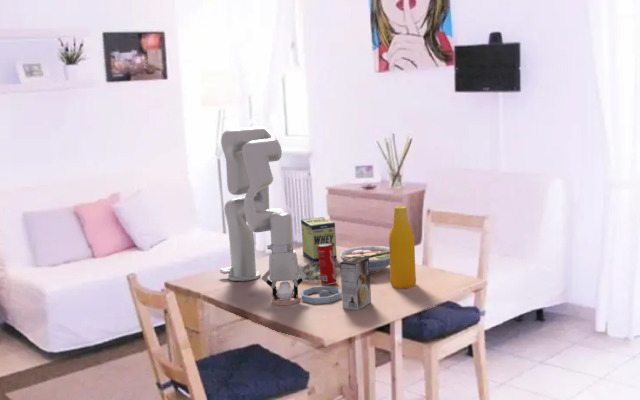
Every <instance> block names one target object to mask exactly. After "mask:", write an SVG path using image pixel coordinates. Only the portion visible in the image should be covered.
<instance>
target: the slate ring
mask: <svg viewBox="0 0 640 400" xmlns="http://www.w3.org/2000/svg"><path fill="white" fill-rule="evenodd" d="M322 290H327V291H328V292H329V293H332V294H331V295H329V297H319V296H318V297H313V296H309V295H310V294H313V293H320V292H321V291H322ZM300 297H301V301H302V302H305V303H309V304H313V305H314V304H330V303H333V302H335V301H338V300H340V299H341V300H342V290H341V288H340V287H336V286H335V287H334V286H333V285H332V286H330V285H321V286H318V285H317V286H316V285H315V286H311V287H310V286H309V287H307V288H305V289H302V290H300Z"/></svg>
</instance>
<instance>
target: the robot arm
mask: <svg viewBox="0 0 640 400" xmlns="http://www.w3.org/2000/svg"><path fill="white" fill-rule="evenodd" d="M220 144H221V149H222V152H223V154H224V158H225V163H226V165H225V167H226V183H227V184H226V185H227V191H228V192H229V194H231V195H232V196H241V195H242V196H243V195H245V196H243V197H242V196H241V197H236V198H231V199H229V200H227V201H226V203H225V204H224V214H225V218H226V225H227V229H228V239H229V253H230V254H229V255H230V264H231V265H230V266H228V267H226V268H225V267H222V268H221V267H220V270H219V271H220V272H219V273H220V274H223V275H227V274H228V278H227V279H228V280H230V281H233V282H246V281H247V282H249V281H253V280H254V281H255V280H256V279H259V278H260V277H261V272H260V271H258V270H257V267H256V265H257V264H256V252H255V251H256V249H255V240H254V239H255V237H254V233H263V232H269V231H270V244H269V245H266V246H267V247H266V248H267V250H270V252H269V256H268V257H269V258H268V270H267V271H266V272H265V273H264V274H263V275H262V277H261V279H262V281H263V282H265V284H267V285H268V286H270V288H271V292H272V293H271V294H272V296H275V300H277V299H278V298H277V292H276V290H277V286H276V284H277V282H284V281H287V282H291V281H292V283H293V289H294V292H293V293H294V297H293V298H294V299H296V295H298V294H299V290H298V289H299V288H298V287H299V285H300V284H302V282H303V281H304V280H305V278H307V274H306V273H305V272H304V271H303V270H302V269H300V267H299V263H298V257H297V252H296V250H295V249H294V240H293V239H294V238H293V224H292V223H293V222H292V221H293V220H292V215H291V214H290V213H289V212H286V211H285V210H284V209H283V208H279V207H276V208H270V192H269V191H270V189H269V187H270V185H271V184H272V183H273V182H274V177H273V173H272V170H271V165H270V163H271V162H278V161H279V160H281V158H282V154H283V153H282V151H283V150H282V147H281V144H280V142H279V140H278V138H276V136H275V135H274V134H273V133H272V132H271V131H270V130H269V129H268V128H266V127H265V126H250V127H238V128H231V129H227V130H225V131H224V132H223V133H222V134H221V139H220ZM299 276H300V277H299ZM268 277H269V278H268Z"/></svg>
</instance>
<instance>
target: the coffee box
mask: <svg viewBox="0 0 640 400" xmlns="http://www.w3.org/2000/svg"><path fill="white" fill-rule="evenodd" d="M339 267H340V284H341V300H342V301H341V303H342V309H346V310H354V311H360V310H361V309H363V308H364V307H366V306H369V304H371V303H372V294H371V293H372V292H371V291H372V289H371V275H370V274H371V273H370V271H369V257H357V256H353V257H350V258H348V259H346V260H344V261H343V260H342V261H341V262H339Z"/></svg>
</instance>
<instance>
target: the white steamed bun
mask: <svg viewBox="0 0 640 400" xmlns="http://www.w3.org/2000/svg"><path fill="white" fill-rule="evenodd" d="M276 292H277V294H278V296H279V298H278V299H280V301H291V300H292V298H293V297H292V295H293V293H294V287H293V286H291V283H290V281H280V283H279V286H278V288H277V287H276Z"/></svg>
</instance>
